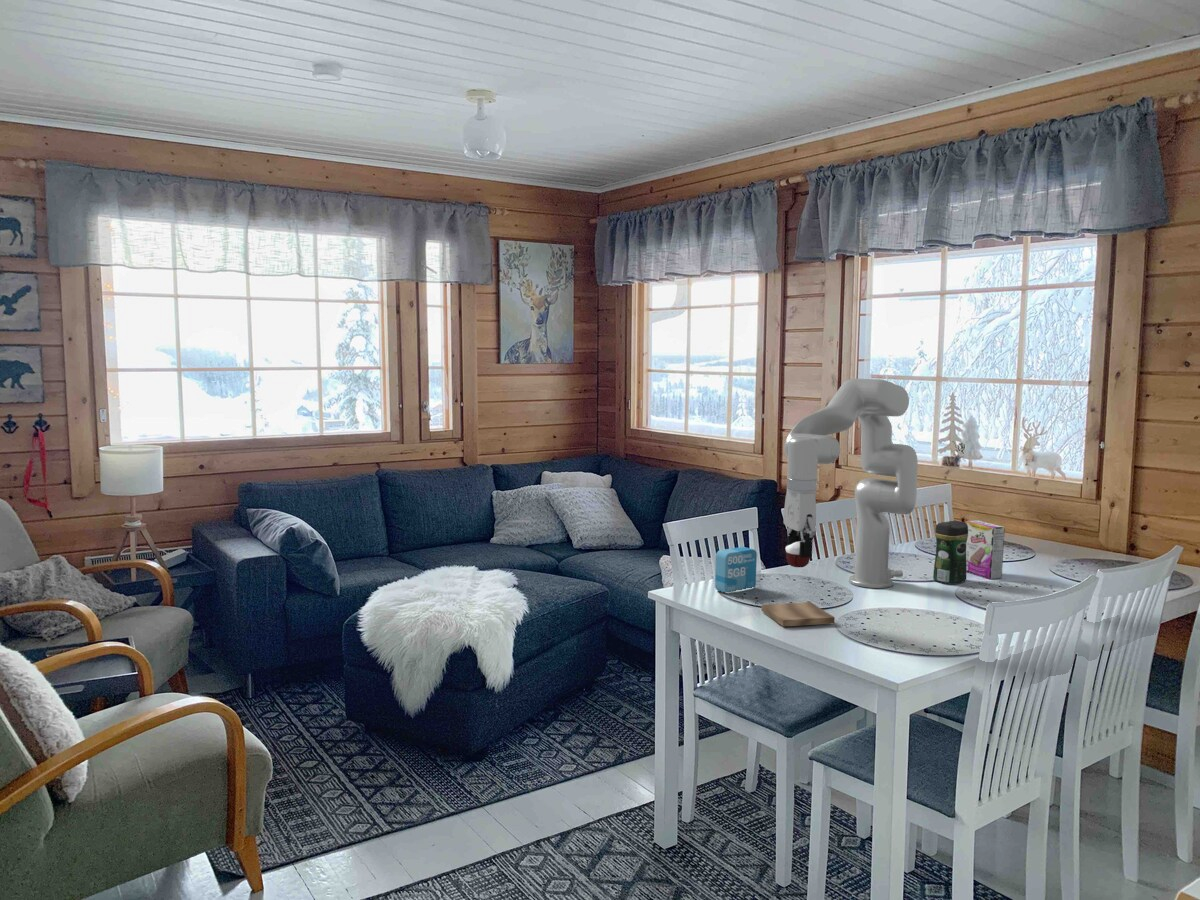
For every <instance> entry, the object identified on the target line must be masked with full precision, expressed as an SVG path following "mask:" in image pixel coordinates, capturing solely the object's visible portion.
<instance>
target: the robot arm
mask: <svg viewBox="0 0 1200 900" xmlns="http://www.w3.org/2000/svg"><path fill="white" fill-rule="evenodd" d="M909 403H910V397H909V394H908V391H907V390H906V389H905V387H903V386H901V385H899V384H896V383H894V382H891V381H888V380H884V379H881V378H880V379H877V378H876V379H875V378H874V379H873V378H851V379H847V380H845V381H844V382H843V383H842V384H841V386H840V387H838V390H837V391H836V392H835V394H834V396H833V397H832V398H831V400H829V402H828V404H827V405H826V406H825V407H823V408H821V409H819V410H816V411H814V412H812V413H811V414H809V415H807V416H804V417H803V418H801V419H800V420H799V421H798V422H797V423H796V424H795V425H794V426H793V428H791V430H790V432H789V433H788V435H787V437H786V439H785V441H784V446H783V448H784V454H785V456H786V457H787V467H786V468H787V469H786V475H787V476H786V494H785V498H784V499H785V500H784V508H783V509H784V511H783V512H784V513H783V525H785V526H786V529H787V531H786V535H787V545H786V546H788V545H791V544H793V543H795V542H798V537H799V531H800V534H801V541H802V542H800V554H799V556H800V557H801V558H804V557H810V558H812V557H813V543H814V539H815V535H816V533H817V528H816V526H817V525H816V524H817V504H816V503H817V501H816V500H817V498H816V493H817V491H818V489H817V488H818V466H819V465H818V464H822V465H829V464H832V463H834V462H835V461H836V460H837V459H838V458H839V456H840V454H841V445H840V442H839V440H838V439H837V438H836V437H833V436H832V435H834V434H837V433H841V432H845V431H847V430H848V429H850V428H851V427H852V426H853V425H854V424H855V422H856V420H857V419H858V421H859V423H860V427H861V443H860V445H861V447H860V448H861V449H860V450H861V451H860V463H861V465H860V466H861V468H862V470H863V471H864V472H865V473H867V474H870V475H876V476H885V477H886V476H887V477H895V478H896V479H897V480H891V479H890V480H889V479H884V478H872V477H871V478H870V477H869V478H864V479H861V480H860V481H858V482H857V483H856V485H855V488H854V501H855V508H856V509H855V510H856V532H855V533H856V535H855V555H854V556H855V558H854V574H853V575H851V576H849V577H848V582H849V583H850V584H852V585H854V586H858V587H862V588H869V589H887V588H890V587H892V586H893V585H894V584H893V583H894V581H893V580H892V579H893V578H894V577H896V578H901V577H903V575H904V572H903V571H902V570H901V569H900V570H895V569H891V568H889V557H890V556H889V554H890V533H891V530H890V529H891V526H890V523H889V520H888V519H887V518H888V517H887V516H886V515H885V513H889V514H897V515H909V514H911V513H912V512H913V511H914V510H915V507H916V503H917V492H918V491H917V489H918V468H919V467H918V465H919V464H918V463H919V462H918V455H917V452H916V450H915V449H914V447H912V446H911V445H908V444H901V443H900V444H899V443H893V439H892V437H893V436H892V435H893V434H892V433H893V427H892V424H891V421H890V419H889V418H888V417H901V416H903V415H904V414H905V413H907V410H908V408H909V406H910V405H909ZM804 528H806V530H803V529H804ZM804 533H805V535H804Z"/></svg>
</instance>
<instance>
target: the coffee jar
mask: <svg viewBox="0 0 1200 900" xmlns="http://www.w3.org/2000/svg"><path fill="white" fill-rule="evenodd" d="M934 531H935V533H934V535H935V540H936V543H935V544H936V545H935V547H936V548H935V554H934V555H935V557H934V565H933V573H932V574H933V576H932V577H933V580H934V581H935V580H936V582H937V583H940V584H943V585H944V584H949V585H956V584H961V583H964V582H966V581H967V572H966V543H967V538H968V525H967V522H965V521H960V520H955V519H954V520H949V521H944V522H938V523H937V524H936V525H935V530H934Z"/></svg>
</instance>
